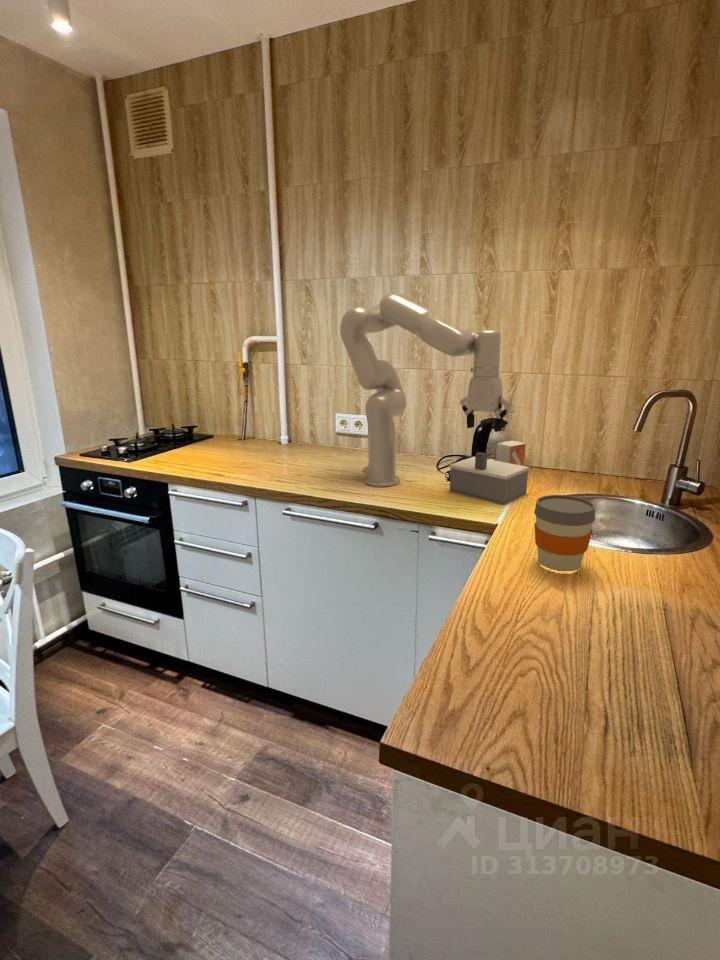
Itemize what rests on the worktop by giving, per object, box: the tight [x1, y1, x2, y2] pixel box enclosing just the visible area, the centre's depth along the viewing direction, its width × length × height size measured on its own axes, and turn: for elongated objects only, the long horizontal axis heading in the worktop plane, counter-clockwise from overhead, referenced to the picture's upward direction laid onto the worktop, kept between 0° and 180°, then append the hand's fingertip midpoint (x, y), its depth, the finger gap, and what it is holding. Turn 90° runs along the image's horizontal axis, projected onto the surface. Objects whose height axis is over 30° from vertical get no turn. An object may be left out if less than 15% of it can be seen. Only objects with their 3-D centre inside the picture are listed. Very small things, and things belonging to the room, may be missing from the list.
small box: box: [495, 440, 527, 466], centre depth 181 cm, size 8×6×13 cm
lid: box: [448, 451, 530, 480], centre depth 164 cm, size 20×14×6 cm
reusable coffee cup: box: [533, 494, 596, 571], centre depth 115 cm, size 13×13×15 cm
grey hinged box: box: [449, 468, 529, 506], centre depth 167 cm, size 20×14×8 cm
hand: (483, 429), depth 158 cm, fingers open, 9 cm apart
